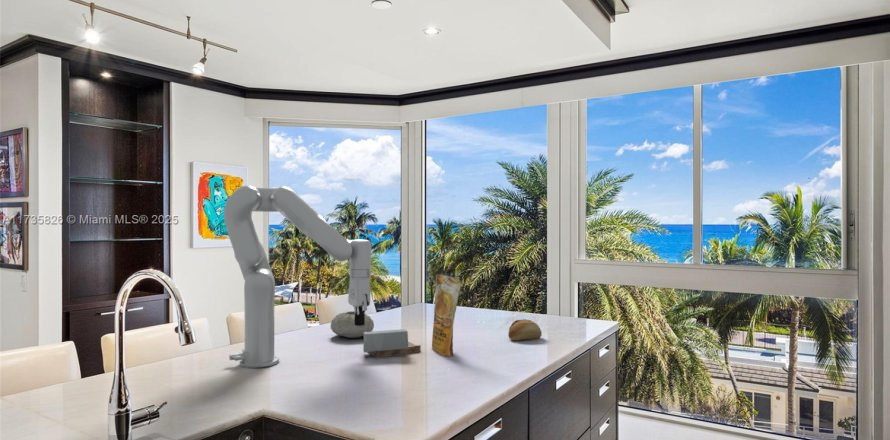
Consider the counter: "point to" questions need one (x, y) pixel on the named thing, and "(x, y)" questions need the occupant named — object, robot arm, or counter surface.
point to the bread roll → (524, 330)
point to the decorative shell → (350, 325)
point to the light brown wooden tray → (398, 351)
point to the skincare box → (385, 340)
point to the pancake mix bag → (445, 313)
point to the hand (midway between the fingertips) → (359, 325)
